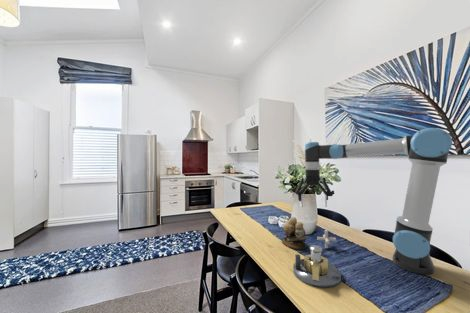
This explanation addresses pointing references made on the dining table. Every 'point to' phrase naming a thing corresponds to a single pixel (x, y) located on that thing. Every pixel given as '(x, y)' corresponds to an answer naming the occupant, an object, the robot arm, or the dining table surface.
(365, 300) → the dining table surface
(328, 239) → the pipe connector
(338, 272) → the spigot plate
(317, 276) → the beige segmented block
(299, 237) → the owl figurine
